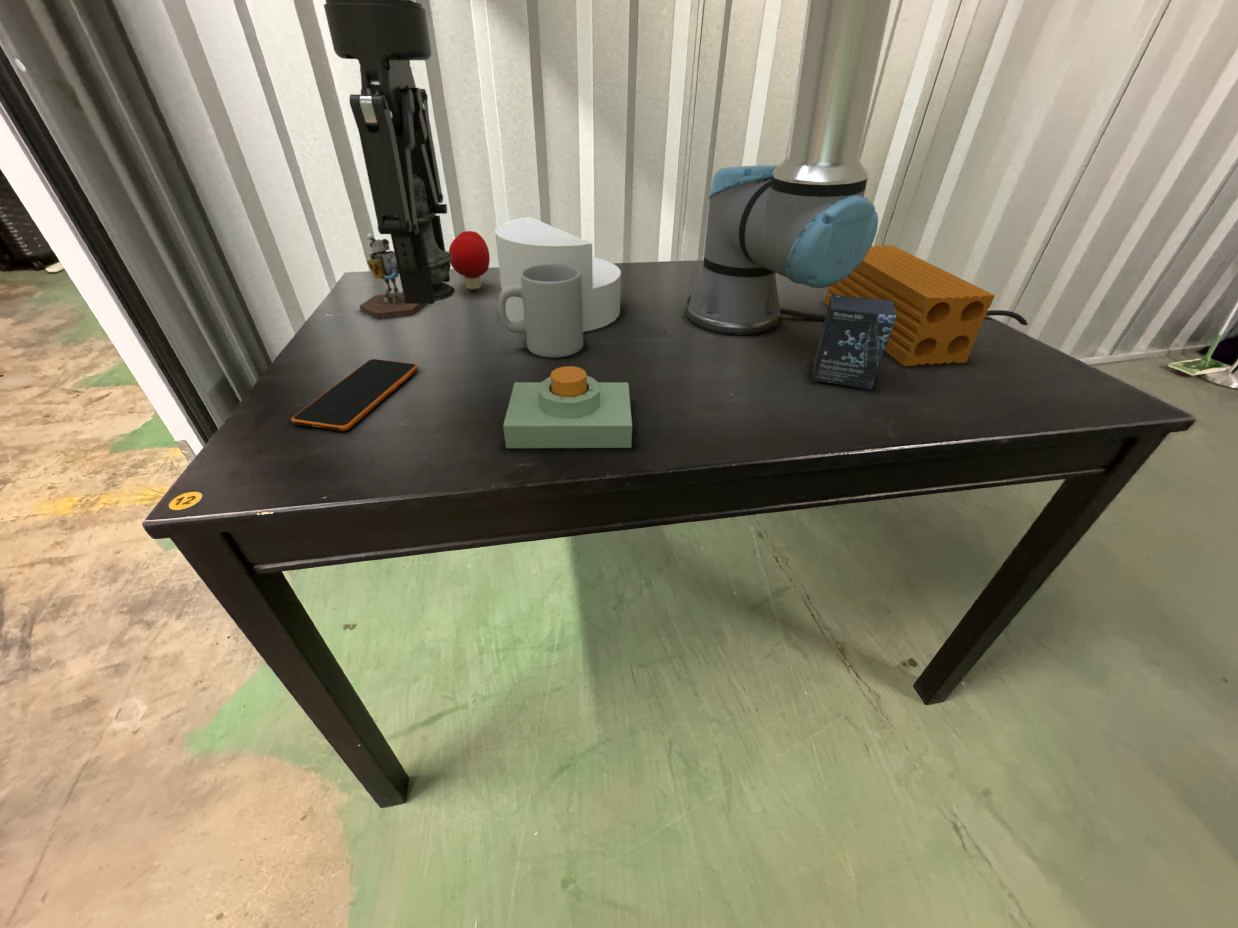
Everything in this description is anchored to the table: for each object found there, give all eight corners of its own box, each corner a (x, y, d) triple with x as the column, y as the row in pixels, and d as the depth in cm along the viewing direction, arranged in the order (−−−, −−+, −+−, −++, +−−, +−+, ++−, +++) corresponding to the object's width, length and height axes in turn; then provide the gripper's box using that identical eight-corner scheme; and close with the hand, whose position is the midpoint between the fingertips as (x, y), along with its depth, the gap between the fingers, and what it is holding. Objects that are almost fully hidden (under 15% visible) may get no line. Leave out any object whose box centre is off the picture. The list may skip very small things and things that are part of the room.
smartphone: (290, 424, 64) (287, 418, 64) (372, 363, 77) (370, 358, 77) (347, 433, 63) (345, 426, 62) (421, 369, 76) (420, 363, 75)
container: (643, 317, 93) (646, 234, 85) (537, 343, 84) (530, 253, 76) (581, 284, 106) (580, 210, 98) (485, 304, 97) (474, 223, 89)
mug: (578, 333, 87) (576, 262, 81) (587, 355, 81) (586, 280, 74) (502, 338, 85) (493, 266, 79) (504, 362, 79) (495, 285, 72)
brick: (966, 362, 81) (994, 295, 75) (903, 366, 80) (927, 298, 74) (875, 301, 101) (892, 245, 95) (824, 303, 100) (838, 246, 94)
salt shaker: (442, 305, 54) (417, 168, 47) (387, 300, 55) (355, 165, 48) (467, 286, 59) (448, 159, 52) (416, 282, 60) (391, 156, 53)
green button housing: (627, 403, 70) (628, 367, 67) (631, 448, 62) (632, 409, 59) (516, 403, 69) (512, 367, 66) (505, 448, 61) (500, 409, 58)
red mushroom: (487, 299, 99) (480, 241, 93) (449, 299, 99) (439, 241, 93) (497, 283, 106) (491, 228, 100) (461, 282, 106) (453, 227, 100)
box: (811, 382, 75) (830, 307, 69) (812, 365, 79) (830, 292, 73) (872, 391, 73) (897, 315, 67) (870, 373, 77) (893, 299, 71)
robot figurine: (436, 308, 95) (423, 235, 88) (389, 323, 89) (370, 247, 82) (399, 293, 101) (384, 224, 94) (352, 307, 95) (332, 234, 88)
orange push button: (587, 382, 64) (586, 366, 63) (586, 399, 61) (586, 382, 60) (552, 382, 64) (551, 366, 63) (550, 399, 61) (549, 382, 60)
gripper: (383, -15, 36) (444, 326, 49) (448, 8, 51) (481, 264, 64) (265, -18, 35) (359, 326, 49) (366, 6, 51) (416, 263, 64)
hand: (428, 290), depth 57 cm, fingers closed on salt shaker, 6 cm apart
